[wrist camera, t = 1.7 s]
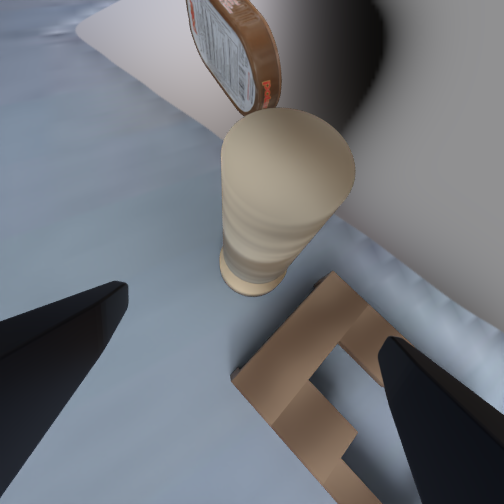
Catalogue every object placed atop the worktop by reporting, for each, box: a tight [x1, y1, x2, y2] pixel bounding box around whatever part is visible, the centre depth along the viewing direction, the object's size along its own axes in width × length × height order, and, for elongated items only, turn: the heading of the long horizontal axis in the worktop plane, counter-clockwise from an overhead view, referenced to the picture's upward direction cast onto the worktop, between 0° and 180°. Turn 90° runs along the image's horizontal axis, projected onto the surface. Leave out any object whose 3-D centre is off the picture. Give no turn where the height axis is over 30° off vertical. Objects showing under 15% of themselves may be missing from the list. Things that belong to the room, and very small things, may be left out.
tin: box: [186, 0, 282, 116], centre depth 25 cm, size 15×3×8 cm, turn 31°
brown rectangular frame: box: [230, 271, 414, 504], centre depth 17 cm, size 16×11×3 cm, turn 45°
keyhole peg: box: [220, 108, 355, 297], centre depth 15 cm, size 6×6×13 cm
